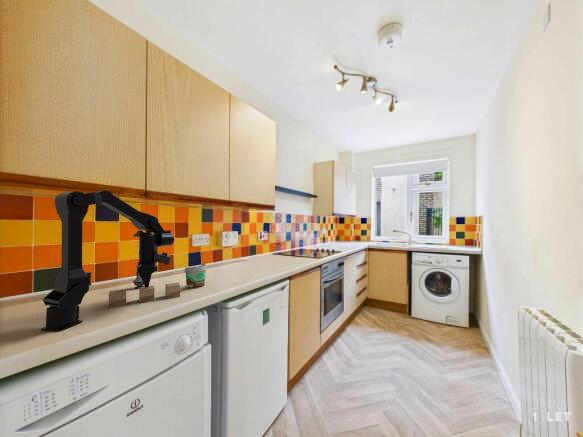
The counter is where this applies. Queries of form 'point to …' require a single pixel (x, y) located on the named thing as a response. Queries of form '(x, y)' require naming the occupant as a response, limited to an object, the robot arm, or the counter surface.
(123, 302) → the walnut block numbered 7
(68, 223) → the robot arm
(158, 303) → the counter surface
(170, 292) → the walnut block numbered 1
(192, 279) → the food container
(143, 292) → the plain walnut block
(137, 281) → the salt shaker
